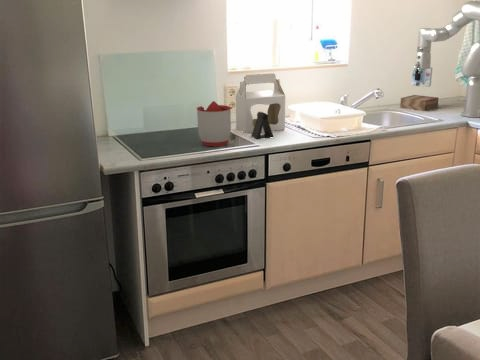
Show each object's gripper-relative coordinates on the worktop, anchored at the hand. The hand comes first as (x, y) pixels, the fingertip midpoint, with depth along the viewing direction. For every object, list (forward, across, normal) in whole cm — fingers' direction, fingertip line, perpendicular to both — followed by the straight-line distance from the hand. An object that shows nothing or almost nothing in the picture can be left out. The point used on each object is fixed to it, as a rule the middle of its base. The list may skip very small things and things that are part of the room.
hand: (421, 79), depth 332 cm
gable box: (+17, -108, +29) cm, 113 cm away
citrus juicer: (+17, -145, +23) cm, 148 cm away
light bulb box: (+4, 0, 0) cm, 4 cm away
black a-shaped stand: (+17, -120, +16) cm, 122 cm away
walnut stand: (+17, 0, 0) cm, 17 cm away
